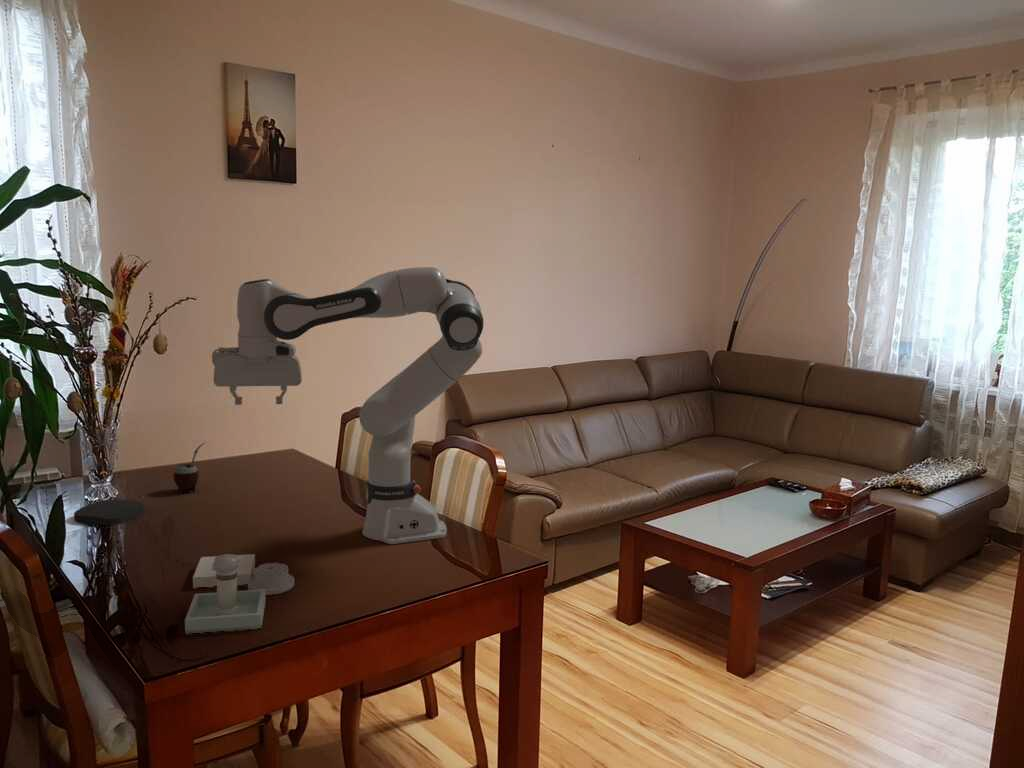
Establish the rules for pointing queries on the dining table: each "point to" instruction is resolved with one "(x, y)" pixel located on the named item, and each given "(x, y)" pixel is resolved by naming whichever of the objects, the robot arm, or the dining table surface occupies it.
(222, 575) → the grey peg
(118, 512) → the media streaming box
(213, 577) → the grey square frame
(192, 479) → the mate gourd
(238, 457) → the dining table surface
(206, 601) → the parts tray
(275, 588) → the mechanical component
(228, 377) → the robot arm
